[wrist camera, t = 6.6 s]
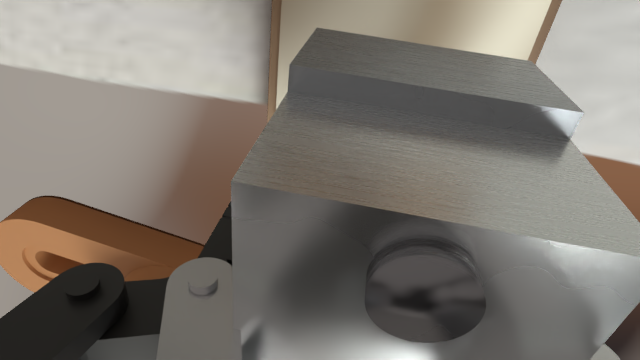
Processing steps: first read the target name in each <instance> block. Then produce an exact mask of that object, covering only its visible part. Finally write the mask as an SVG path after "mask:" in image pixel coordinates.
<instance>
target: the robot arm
mask: <svg viewBox="0 0 640 360" xmlns="http://www.w3.org/2000/svg"><path fill="white" fill-rule="evenodd" d="M0 360H242V348H241V330H238V329H234V328H233V280H232V209H231V202H230V203H229V205H228V208H226V210H225V212H224V214H223V216H222V218H221V219H220V221H219V222H218V224H217V226H216V227H215V229H214V231H213V232H212V235H211V236H210V238H209V239H208V241H207V243H206V244H205V246H204V248H203V250H202V251H201V253H200V255H199V256H198V258H197V259H193V260H190V261H188V262H186V263H184V264H182V265H180V266H179V267H178V268H177V269H176V270H174V271H173V273H172V274H171V275H170V277H166V278H162V279H153V280H138V281H125V280H124V277H123V274H122V273H121V271H120V270H119V269H118V268H116V267H114V266H113V265H110V264H106V263H87V264H82V265H79V266H75V267H73V268H70V269H68V270H66V271H64V272H62V273H61V274H59V275H58V276H56V277H55V278H54V279H52V280H51V281H50V282H48V283H47V284H46V285H44V286H43V287H42V288H40V289H39V290H38V291H36V292H35V293H34V294H32V295H31V296H30V297H28V298H27V299H26V300H24V301H23V302H22V303H20V304H19V305H18V306H16V307H15V308H14V309H13V310H11V311H10V312H8V313H7V314H6V315H4V316H3V317H2V318H0ZM590 360H620V359H619V357H618V356H617V355H616V354H615V353H614V352H613V351H612V350H611V349H610V348H609V347H608V346H607V345H605V344H603V345H602V346H601V347H600V348H599V349H598V351H597V352H596V353H595V354H594V355H593V356H592V357H591V359H590Z"/></svg>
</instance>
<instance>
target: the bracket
mask: <svg viewBox="0 0 640 360" xmlns="http://www.w3.org/2000/svg"><path fill="white" fill-rule="evenodd" d="M204 246H205V245H204V244H201V243H198V242H195V241H192V240H189V239H186V238H183V237H180V236H177V235H174V234H171V233H168V232H165V231H162V230H159V229H156V228H154V227H151V226H147V225H145V224H141V223H139V222H135V221H133V220H130V219H127V218H123V217H121V216H118V215H115V214H112V213H108V212H105V211H102V210H100V209H97V208H94V207H91V206H88V205H85V204H82V203H79V202H76V201H73V200H70V199H67V198H63V197H58V196H39V197H35V198H33V199H31V200H29V201H28V202H26V203H25V204H24V205H22V206H21V207H20V208H18V209H17V210H16V211H15V212H13V213H12V214H11V215H9V216H8V217H7V218H5V219H4V220H3V221H1V222H0V265H1V266H2V267H3V268H4V270H6V272H7V273H8V274H9V275H10V276H11V277H13V278H14V279H15V280H16V281H17V282H19V283H20V284H22V285H23V286H25V287H26V288H28V289H29V290H31V291H33V292H34V293H35V292H36V291H38V290H39V289H40V288H42V287H43V286H44V285H46V284H47V283H48V282H50V281H51V280H52V279H54V278H55V277H56V276H58V275H59V274H61V273H62V272H64V271H66V270H68V269H70V268H73V267H75V266H79V265H82V264H87V263H106V264H110V265H113V266H114V267H116V268H118V269H119V270H120V271H121V273H122V274H123V277H124V280H125V281H138V280H153V279H162V278H166V277H170V275H171V274H172V273H173V271H174V270H176V269H177V268H178V267H179V266H180V265H182V264H184V263H186V262H188V261H190V260H193V259H197V258H198V256H199V255H200V253H201V251H202V250H203V248H204Z"/></svg>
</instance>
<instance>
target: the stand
mask: <svg viewBox="0 0 640 360" xmlns="http://www.w3.org/2000/svg"><path fill="white" fill-rule="evenodd" d="M561 2H562V0H272V11H271V36H270V61H269V86H268V111H267V124H268V122H269V120H270V119H271V117H272V116H273V114H274V112H275V111H276V109H277V108H278V106H279V105H280V103H281V101H282V100H283V98H284V97H285V95H286V93H287V92H288V78H289V64H290V63H291V62H292V60H293V59H294V58H295V56H296V55H297V54H298V52H299V51H300V50H301V48H302V47H303V46H304V44H305V43H306V42H307V40H308V39H309V37H310V36H311V35H312V33H313V32H314V31H315V29H316V28H324V29H330V30H336V31H343V32H349V33H356V34H362V35H368V36H375V37H381V38H387V39H394V40H400V41H407V42H413V43H419V44H426V45H432V46H438V47H445V48H451V49H458V50H464V51H470V52H477V53H483V54H489V55H496V56H502V57H509V58H515V59H521V60H528V61H532V62H533V63H534V64H536V61H537V59H538V57H539V54H540V52H541V49H542V47H543V45H544V42H545V40H546V38H547V35H548V33H549V30H550V28H551V26H552V23H553V21H554V18H555V16H556V14H557V11H558V9H559V6H560V4H561Z"/></svg>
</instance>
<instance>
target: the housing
mask: <svg viewBox="0 0 640 360" xmlns="http://www.w3.org/2000/svg"><path fill="white" fill-rule="evenodd" d="M583 114H584V112H583V111H582V110H581V109H580V108H579V107H578V106H577V105H576V104H575V103H574V102H573V101H572V100H571V99H570V98H569V97H568V96H566V95H565V94H564V93H563V92H562V91H561V90H560V89H559V88H558V87H557V86H556V85H555V84H554V83H553V82H552V81H551V80H550V79H549V78H548V77H547V76H546V75H545V74H544V73H543V72H542V71H541V70H540V69H539V68H538V67H537V66H536V65H535V64H534V63H533V62H532V61H528V60H521V59H515V58H509V57H502V56H496V55H489V54H483V53H477V52H470V51H464V50H458V49H451V48H445V47H438V46H432V45H426V44H419V43H413V42H407V41H400V40H394V39H387V38H381V37H375V36H368V35H362V34H356V33H349V32H343V31H336V30H330V29H324V28H316V29H315V31H314V32H313V33H312V35H311V36H310V37H309V39H308V40H307V42H306V43H305V44H304V46H303V47H302V48H301V50H300V51H299V52H298V54H297V55H296V56H295V58H294V59H293V60H292V62H291V63H290V64H289V78H288V92H287V93H286V95H285V97H284V98H283V100H282V101H281V103H280V105H279V106H278V108H277V109H276V111H275V112H274V114H273V116H272V117H271V119H270V120H269V122H268V124H267V126H266V127H265V129H264V130H263V132H262V133H261V135H260V136H259V138H258V139H257V141H256V143H255V144H254V146H253V147H252V149H251V151H250V152H249V154H248V156H247V157H246V158H245V160H244V162H243V164H242V165H241V166H240V168H239V170H238V171H237V173H236V174H235V176H234V178H233V179H232V181H231V209H232V280H233V328H234V329H238V330H241V348H242V360H590V359H591V357H592V356H593V355H594V354H595V353H596V352H597V351H598V349H599V348H600V347H601V346H602V345H603V344H604V342H605V341H606V340H607V339H608V338H609V336H610V335H611V334H612V333H613V332H614V331H615V330H616V328H617V327H618V326H619V325H620V324H621V323H622V322H623V320H624V319H625V318H626V317H627V316H628V314H629V313H630V312H631V311H632V310H633V309H634V308H635V307H636V305H637V304H638V303H639V302H640V223H639V222H638V220H637V219H636V218H635V217H634V216H633V215H632V213H631V212H630V211H629V210H628V208H627V207H626V206H625V205H624V204H623V203H622V201H621V200H620V199H619V198H618V196H617V195H616V194H615V193H614V192H613V191H612V189H611V188H610V187H609V186H608V184H607V183H606V182H605V181H604V180H603V178H602V177H601V176H600V175H599V174H598V172H597V171H596V170H595V169H594V168H593V166H592V165H591V164H590V163H589V162H588V160H587V159H586V158H585V157H584V155H583V154H582V153H581V152H580V151H579V149H578V148H577V147H576V146H575V145H574V143H573V142H572V141H571V140H570V139H571V137H572V135H573V133H574V131H575V129H576V127H577V126H578V124H579V122H580V120H581V118H582V116H583Z"/></svg>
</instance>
